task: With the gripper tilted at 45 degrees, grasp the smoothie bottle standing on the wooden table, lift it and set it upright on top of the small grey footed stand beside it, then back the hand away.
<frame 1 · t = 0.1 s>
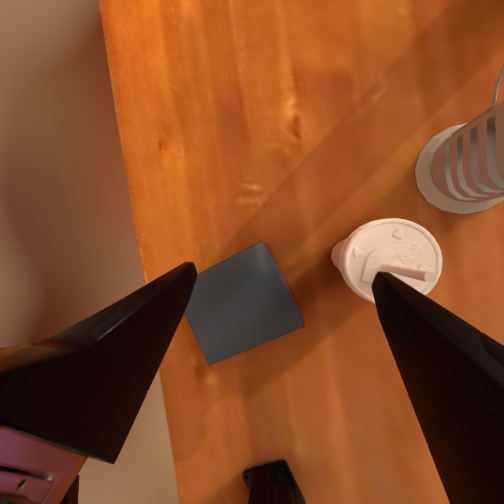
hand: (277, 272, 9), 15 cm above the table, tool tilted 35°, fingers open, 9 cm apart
smoothie: (346, 255, 23), on the table
grey footed stand: (243, 295, 25), on the table
french press: (461, 161, 20), on the table
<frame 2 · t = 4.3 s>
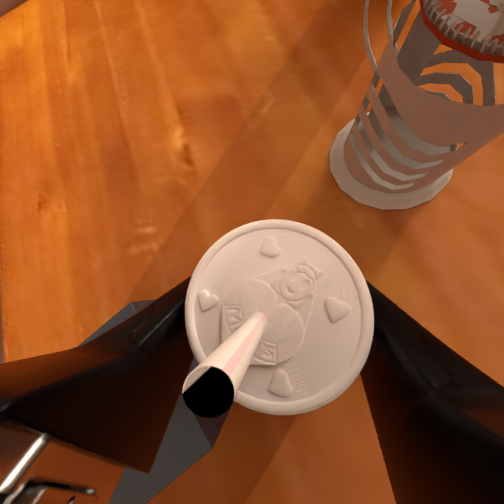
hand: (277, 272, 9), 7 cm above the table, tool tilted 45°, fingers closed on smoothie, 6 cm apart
smoothie: (279, 295, 16), on the table, touching gripper
grey footed stand: (145, 389, 16), on the table
french press: (380, 151, 16), on the table
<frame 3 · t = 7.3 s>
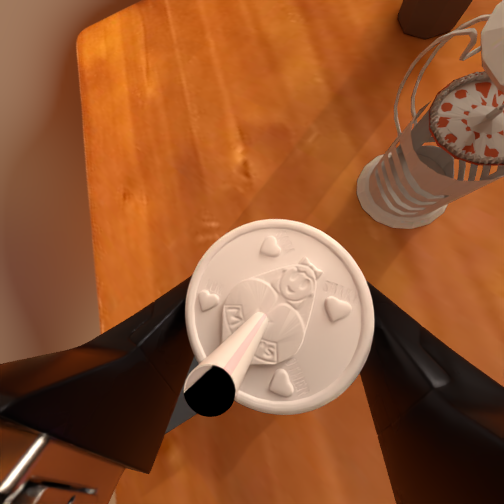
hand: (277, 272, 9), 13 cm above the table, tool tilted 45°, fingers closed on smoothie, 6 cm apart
smoothie: (279, 294, 16), point 7 cm above the table, touching gripper
beer bottle: (426, 18, 25), on the table
grey footed stand: (208, 338, 23), on the table
french press: (396, 183, 22), on the table
when the fingers open (11 cm above the table, at t = 10.4 s): smoothie stays where it is, resting on grey footed stand.
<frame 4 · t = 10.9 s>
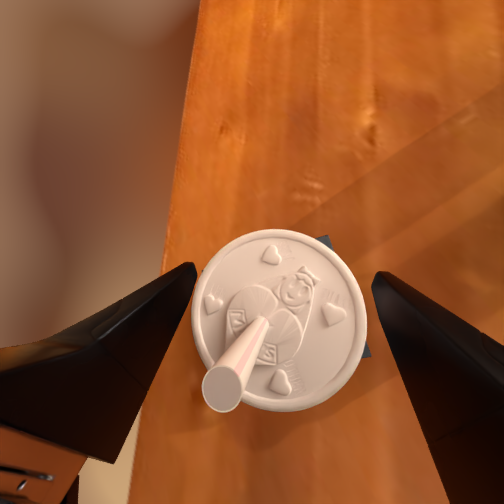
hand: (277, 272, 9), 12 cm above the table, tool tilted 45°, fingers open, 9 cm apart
smoothie: (279, 297, 16), point 4 cm above the table, touching grey footed stand
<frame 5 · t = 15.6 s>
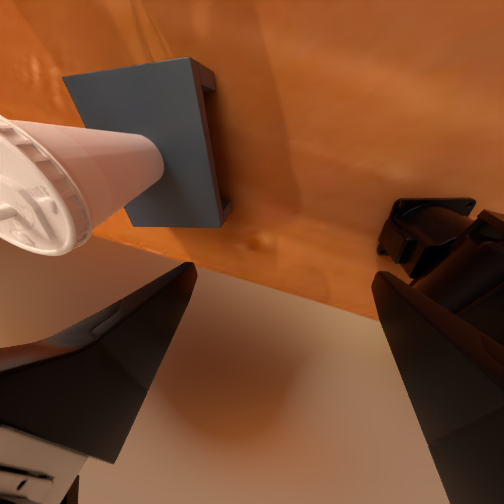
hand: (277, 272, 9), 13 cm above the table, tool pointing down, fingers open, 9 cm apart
smoothie: (144, 159, 16), point 4 cm above the table, touching grey footed stand
grey footed stand: (179, 156, 20), on the table
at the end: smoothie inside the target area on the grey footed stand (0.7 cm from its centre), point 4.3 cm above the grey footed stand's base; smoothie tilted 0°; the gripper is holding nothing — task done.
